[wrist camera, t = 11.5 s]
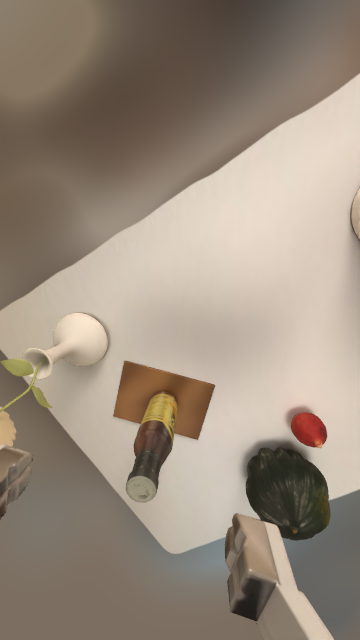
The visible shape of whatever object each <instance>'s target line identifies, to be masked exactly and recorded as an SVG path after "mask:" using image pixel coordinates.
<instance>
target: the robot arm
mask: <svg viewBox="0 0 360 640" xmlns="http://www.w3.org/2000/svg"><path fill="white" fill-rule="evenodd" d="M351 217H352V224H353V228H354V231H355V233H356V235H357V236H358V238H359V239H360V188H359V189H358V191H357V193H356V196H355V198H354V201H353V205H352V213H351ZM32 461H33V454H32V453H28V452H25V451H22V450H19V449H16V448H13V447H10V446H7V445H4V444H0V519H1V518H2V517H3V516H4V514H5V513H6V510H7V505H8V504H9V503H11V502H12V501H14V500H16V499H18V497H19V496H20V495H21V494H22V492H23V491H24V490H25V488H26V486H27V484H28V483H29V481H30V478H31V475H32V468H31V467H30V465H29V464H30V463H31V462H32ZM232 524H233V526H232V527H230V528H229V529H228V531H227V534H226V541H225V559H226V564H227V566H228V568H229V570H230V572H231V574H230V576H229V578H228V581H227V582H228V593H229V605H230V612H232V613H235V614H237V615H240V616H243V617H246V618H249V619H252V620H254V621H257V623H256V624H257V626H258V629H259V631H260V634H261V636H262V638H263V640H334V639H333V637H332V635H331V634H330V633H329V631H328V630H327V628H326V627H325V625H324V624H323V622H322V621H321V619H320V618H319V616H318V615H317V613H316V612H315V610H314V609H313V607H312V606H311V604H310V603H309V601H308V600H307V598H306V597H305V595H304V594H303V592H300V591H298V589H297V586H296V583H295V579H294V576H293V573H292V570H291V566H290V563H289V560H288V557H287V554H286V550H285V547H284V544H283V541H282V537H281V534H280V531H279V529H278V527H277V525H275V524H271V523H268V522H264V521H261V520H259V519H255V518H252V517H248V516H244V515H241V514H237V513H236V514H235V515H234V516H233V519H232Z"/></svg>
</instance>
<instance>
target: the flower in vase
mask: <svg viewBox="0 0 360 640" xmlns="http://www.w3.org/2000/svg"><path fill="white" fill-rule="evenodd" d="M53 341H54V345H55V347H53V348H50V349H47V350H41V349H37V348H30V349H27V350H26V351H24V352H23V354H22V356H21V359H10V360H4V361H1V363H2V364H3V365H4V366H5V367H6V368H7V369H8V371H9V372H11V373H12V374H13V375H15V376H26V375H28V376H29V377H31V378H33V379H32V382H31V384H30V386H29V388H28V389H27V390H26V391H25V392H24V393H22V394H21V395H20V396H18V397H17V398H16V399H14V400H13V401H11V402H10V403H9V404H7V405H6V406H5V407H3V408H2V407H1V406H0V444H4V445H7V446H10V447H12V446H13V442H12V440H15V438H16V437H15V434H16V429H15V428H14V423H13V421H12V420H10V419H9V417H10V416H9V415H8V414H7V413H6V412H4V410H5V409H6V408H7V407H9V406H10V405H11V404H13V403H14V402H15V401H17V400H18V399H19V398H21V397H22V396H24V395H25V394H26V393H27V392H28V391H29V390H30V389H31V388H32V390H33V393H34V395H35V398H36V399H37V401H38V402H39V403H40V404H41V405H42V406H44V407H47V408H52V407H51V406H50V405H49V404H48V403H47V401H46V399H45V397H44V395H43V393H42V391H41V390H40V389H39V388H37V387H35V386H33V384H34V382H35V379H37V380H41V379H45V378H47V377H48V376H49V375H50V374H51V372H52V368H53V365H54V364H55V362H57V361H58V360H59V359H61V358H63V359H64V360H65V361H67V362H69V363H71V364H73V365H76V366H89V365H93V364H95V363H97V362H98V361H100V360H101V359H102V357H103V356H104V354H105V352H106V350H107V344H108V343H107V336H106V333H105V330H104V328H103V327H102V325H101V324H100V323H99V322H98V321H97V320H96V319H94V318H93V317H91V316H89V315H87V314H83V313H73V314H69V315H67V316H65V317H63V318H62V319H61V320H60V321H59V322H58V324H57V325H56V327H55V330H54V334H53Z"/></svg>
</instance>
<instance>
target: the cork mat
mask: <svg viewBox="0 0 360 640" xmlns="http://www.w3.org/2000/svg"><path fill="white" fill-rule="evenodd" d="M214 387H215V385H214V384H210V383H206V382H202V381H199V380H195V379H191V378H188V377H184V376H180V375H176V374H173V373H169V372H165V371H162V370H158V369H154V368H150V367H147V366H143V365H139V364H136V363H132V362H128V361H124V366H123V371H122V376H121V381H120V386H119V391H118V396H117V401H116V406H115V410H114V415H113V416H114V417H118V418H121V419H125V420H129V421H132V422H136V423H139V424H141V422H142V420H143V417H144V415H145V412H146V410H147V407H148V405H149V402H150V400H151V399H152V397H153V396H154V395H155V394H156V393H158V392H168V393H170V394H172V395H173V396H174V397H175V398H176V400H177V406H178V411H177V418H176V425H175V432H174V433H175V434H179V435H183V436H186V437H190V438H193V439H197V440H198V438H199V435H200V431H201V428H202V425H203V422H204V419H205V416H206V412H207V409H208V406H209V403H210V400H211V397H212V393H213V390H214Z"/></svg>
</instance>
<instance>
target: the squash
mask: <svg viewBox="0 0 360 640" xmlns="http://www.w3.org/2000/svg"><path fill="white" fill-rule="evenodd" d="M246 494H247V497H248V500H249V503H250V505H251V507H252V508H253V510H254V511H255V512H256V513H257V515H258V516H259V517H260V519H261V520H262V521H264V522H268V523H271V524H275V525H277V527H278V529H279V531H280V534H281V537H283V538H287V539H291V540H304V539H308V538H312V537H313V536H314V535H315V534H317V533H319V532H321V531H322V530H324V529H325V528H326V527H327V525H328V524H329V520H330V507H329V501H328V498H329V495H328V487H327V483H326V480H325V478H324V476H323V475H322V473H321V472H320V471H319V469H318V468H317V467H316V466H315V465H314V464H312V463H311V462H309V461H307V460H305V459H304V458H303V457H302V456H301V454H300V453H298V452H297V451H294V450H287V451H285V450H284V449H283V448H277V449H276V450H274V451H272V450H271V449H269V448H261V449H260V450H259V453H258V456H254V457H252V458H251V460H250V461H249V463H248V479H247V481H246Z"/></svg>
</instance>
